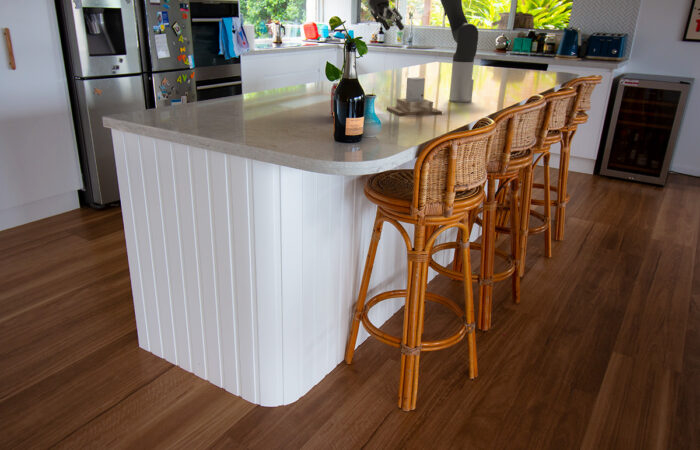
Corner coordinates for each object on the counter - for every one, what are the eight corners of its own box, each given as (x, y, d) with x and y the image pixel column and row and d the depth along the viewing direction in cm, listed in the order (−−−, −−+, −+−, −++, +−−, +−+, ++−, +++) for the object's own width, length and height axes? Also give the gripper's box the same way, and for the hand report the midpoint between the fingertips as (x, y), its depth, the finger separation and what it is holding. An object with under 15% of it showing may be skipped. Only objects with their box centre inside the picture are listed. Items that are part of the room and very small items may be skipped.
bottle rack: (427, 108, 228) (428, 97, 226) (441, 114, 215) (442, 102, 213) (386, 109, 223) (387, 98, 221) (399, 115, 210) (399, 103, 208)
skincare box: (411, 110, 215) (413, 78, 211) (404, 108, 219) (406, 77, 214) (423, 109, 219) (425, 78, 214) (416, 107, 222) (418, 76, 218)
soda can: (349, 118, 202) (350, 85, 198) (330, 118, 202) (330, 85, 198) (349, 115, 209) (350, 83, 205) (331, 114, 209) (331, 82, 205)
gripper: (369, -9, 220) (389, 22, 216) (392, -8, 229) (412, 22, 226) (359, 5, 225) (378, 35, 222) (382, 5, 234) (401, 35, 231)
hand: (395, 29), depth 224 cm, fingers open, 8 cm apart
